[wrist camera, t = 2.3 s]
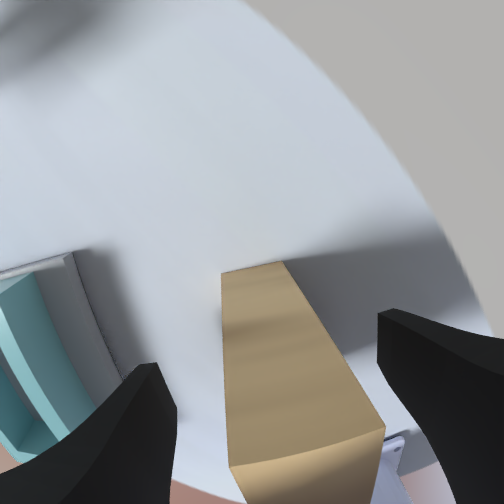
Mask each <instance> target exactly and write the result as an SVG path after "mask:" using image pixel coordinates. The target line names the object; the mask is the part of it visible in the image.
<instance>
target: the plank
mask: <svg viewBox="0 0 504 504" xmlns="http://www.w3.org/2000/svg"><path fill="white" fill-rule="evenodd" d="M221 295H222V334H223V364H224V389H225V410H226V429H227V446H228V462H229V468H230V470H231V473H232V475H233V477H234V479H235V481H236V483H237V485H238V487H239V488H240V490H241V492H242V494H243V496H244V498H245V500H246V502H247V504H370V502H371V498H372V495H373V490H374V486H375V482H376V477H377V473H378V468H379V463H380V458H381V453H382V447H383V442H384V436H385V429H386V426H385V424H384V422H383V421H382V419H381V417H380V416H379V414H378V412H377V411H376V409H375V408H374V406H373V404H372V403H371V401H370V399H369V398H368V396H367V395H366V393H365V391H364V390H363V388H362V386H361V385H360V383H359V382H358V380H357V378H356V377H355V375H354V374H353V372H352V370H351V369H350V367H349V366H348V364H347V362H346V361H345V359H344V358H343V356H342V354H341V353H340V351H339V350H338V348H337V346H336V345H335V343H334V342H333V340H332V339H331V337H330V335H329V334H328V332H327V331H326V329H325V327H324V326H323V324H322V323H321V321H320V320H319V318H318V317H317V315H316V313H315V312H314V310H313V309H312V307H311V306H310V304H309V302H308V301H307V299H306V298H305V296H304V295H303V293H302V292H301V290H300V289H299V287H298V285H297V284H296V282H295V281H294V279H293V278H292V276H291V275H290V273H289V272H288V270H287V268H286V267H285V265H284V264H283V262H282V261H279V262H274V263H269V264H265V265H260V266H255V267H250V268H246V269H241V270H236V271H232V272H227V273H222V274H221Z"/></svg>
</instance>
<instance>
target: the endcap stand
mask: <svg viewBox="0 0 504 504" xmlns="http://www.w3.org/2000/svg"><path fill="white" fill-rule="evenodd" d="M122 382H123V380H122V378H121V376H120V374H119V372H118V370H117V368H116V366H115V364H114V362H113V359H112V357H111V355H110V353H109V351H108V348H107V346H106V344H105V341H104V339H103V337H102V334H101V332H100V330H99V327H98V325H97V322H96V320H95V317H94V315H93V312H92V310H91V307H90V304H89V302H88V299H87V296H86V293H85V291H84V288H83V285H82V282H81V279H80V276H79V273H78V270H77V267H76V264H75V260H74V257H73V254H72V252H70V253H67V254H63V255H59V256H56V257H52V258H48V259H45V260H41V261H38V262H34V263H31V264H27V265H24V266H20V267H17V268H13V269H10V270H7V271H3V272H0V442H1V443H2V445H3V446H4V447H5V448H6V450H7V451H8V452H9V453H10V454H11V456H12V457H13V458H14V459H15V460H16V461H17V462H22V463H25V462H27V461H29V460H31V459H33V458H35V457H36V456H38V455H39V454H41V453H42V452H44V451H46V450H47V449H49V448H50V447H52V446H53V445H55V444H56V443H58V442H59V441H61V440H62V439H63V438H64V437H66V436H67V435H68V434H70V433H71V432H72V431H73V430H74V429H76V428H77V427H78V426H79V425H80V424H81V423H83V422H84V421H85V420H86V419H87V418H88V417H89V416H90V415H91V414H92V413H93V412H94V411H95V410H96V409H97V408H98V407H99V406H100V405H101V404H102V403H103V402H104V401H105V400H106V399H107V398H108V397H109V396H110V395H111V394H112V393H113V392H114V391H115V389H116V388H117V387H118V386H119V385H120V384H121V383H122Z"/></svg>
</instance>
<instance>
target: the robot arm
mask: <svg viewBox="0 0 504 504" xmlns="http://www.w3.org/2000/svg"><path fill="white" fill-rule="evenodd" d="M377 364H378V365H379V367H380V369H381V371H382V373H383V375H384V377H385V379H386V381H387V382H388V384H389V386H390V387H391V389H392V390H393V391H394V393H395V394H396V395H397V397H398V398H399V400H400V401H401V402H402V404H403V405H404V406H405V408H406V409H407V410H408V412H409V413H410V414H411V416H412V417H413V418H414V420H415V421H416V423H417V424H418V425H419V427H420V428H421V430H422V431H423V433H424V434H425V436H426V437H427V439H428V441H429V443H430V445H431V447H432V449H433V450H434V452H435V454H436V456H437V458H438V460H439V462H440V465H441V466H442V469H443V471H444V473H445V475H446V478H447V480H448V483H449V485H450V487H451V490H452V492H453V495H454V498H455V501H456V504H504V339H500V338H495V337H489V336H483V335H479V334H475V333H471V332H467V331H463V330H460V329H456V328H453V327H450V326H447V325H444V324H441V323H438V322H435V321H432V320H429V319H426V318H423V317H420V316H417V315H414V314H411V313H408V312H405V311H402V310H398V309H394V308H393V309H390V310H387V311H384V312H380V313H378V340H377ZM176 438H177V407H176V405H175V403H174V401H173V398H172V396H171V394H170V392H169V390H168V387H167V385H166V383H165V380H164V378H163V376H162V374H161V371H160V369H159V366H158V364H157V362H155V363H148V364H140V365H139V366H137V367H136V368H135V369H134V370H133V371H132V372H131V373H130V374H129V375H128V377H127V378H126V379H125V380H124V381H123V382H122V383H121V384H120V385H119V386H118V387H117V388H116V389H115V391H114V392H113V393H112V394H111V395H110V396H109V397H108V398H107V399H106V400H105V401H104V402H103V403H102V404H101V405H100V406H99V407H98V408H97V409H96V410H95V411H94V412H93V413H92V414H91V415H90V416H89V417H88V418H87V419H86V420H85V421H84V422H83V423H81V424H80V425H79V426H78V427H77V428H76V429H74V430H73V431H72V432H71V433H70V434H68V435H67V436H66V437H64V438H63V439H62V440H61V441H59V442H58V443H56V444H55V445H53V446H52V447H50V448H49V449H47V450H46V451H44V452H42V453H41V454H39V455H38V456H36V457H35V458H33V459H31V460H29V461H27V462H25V463H23V464H22V465H20V466H17V467H15V468H13V469H11V470H8V471H6V472H4V473H1V474H0V504H169V503H170V502H169V498H170V485H171V477H172V469H173V461H174V454H175V446H176ZM404 444H405V439H404V438H403V437H402V436H398V437H395V438H393V439H390V440H388V441H385V442H383V447H382V453H381V458H380V463H379V468H378V473H377V477H376V482H375V486H374V490H373V495H372V498H371V502H370V504H413V502H412V500H411V498H410V496H409V494H408V493H407V491H406V489H405V487H404V485H403V483H402V481H401V480H400V478H399V476H398V474H397V469H398V465H399V462H400V459H401V455H402V451H403V447H404Z"/></svg>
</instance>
